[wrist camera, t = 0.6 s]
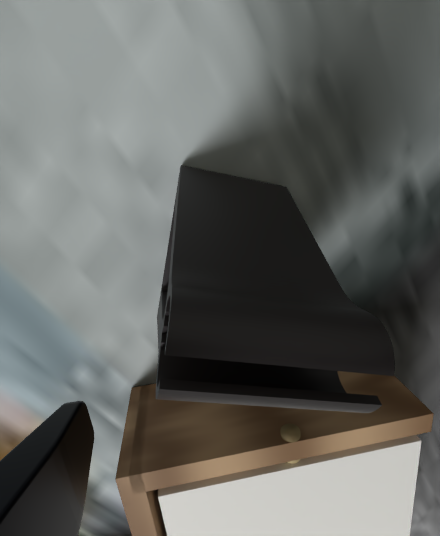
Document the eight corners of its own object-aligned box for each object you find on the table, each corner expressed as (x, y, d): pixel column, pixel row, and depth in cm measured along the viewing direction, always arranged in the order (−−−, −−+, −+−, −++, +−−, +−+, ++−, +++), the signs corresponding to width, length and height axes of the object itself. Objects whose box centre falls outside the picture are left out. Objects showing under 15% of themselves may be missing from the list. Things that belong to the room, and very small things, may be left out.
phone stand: (181, 164, 17) (196, 170, 6) (284, 186, 19) (458, 225, 7) (156, 314, 20) (135, 513, 9) (249, 325, 21) (337, 514, 10)
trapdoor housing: (363, 343, 23) (433, 410, 17) (356, 517, 29) (406, 614, 22) (131, 385, 21) (114, 475, 15) (173, 559, 27) (173, 676, 21)
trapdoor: (388, 403, 20) (421, 440, 17) (376, 552, 24) (401, 599, 22) (160, 449, 18) (157, 496, 16) (192, 597, 23) (195, 653, 20)
